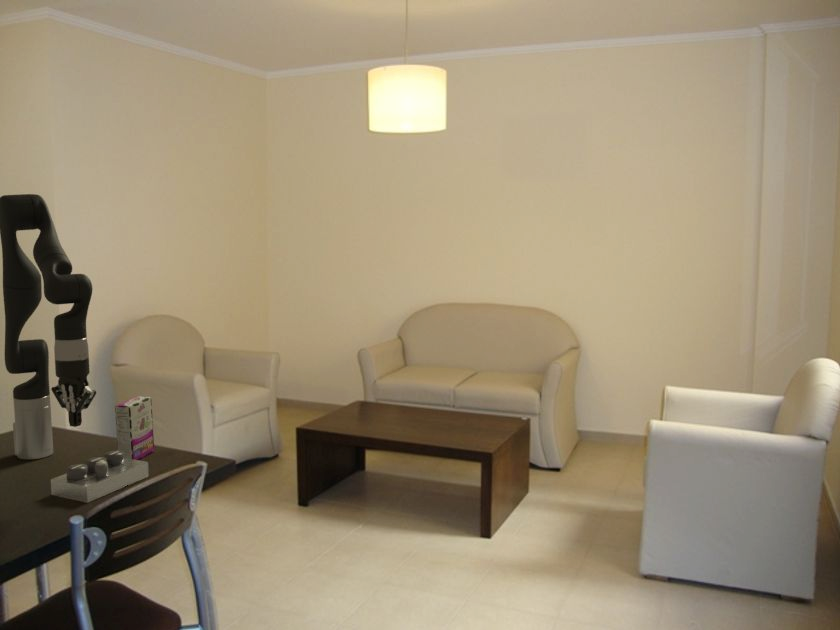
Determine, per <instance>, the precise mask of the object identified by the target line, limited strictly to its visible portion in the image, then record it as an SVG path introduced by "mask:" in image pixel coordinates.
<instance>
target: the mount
mask: <svg viewBox="0 0 840 630" xmlns="http://www.w3.org/2000/svg"><path fill="white" fill-rule="evenodd" d="M149 476H150V475H149V461H145V460H141V459H140V460H134V459H129V458H125V462H124V463H122V464H120V465H113V466H110V465H108V477H105V478H96V477H95V473H90V472H88V477H86V478H84V479H81V480H68V479H67V474H66V473H64V474H62V475H58V476H56V477H53V478H51V479H50V490H51V493H50V494H51V496H55V497H59V498H64V499H69V500H72V501H77V502H81V503H82V502H83V503H85V504H88V503H91V502H93V501H95V500H98V499H100V498H102V497H105V496H106V495H109V494H111V493H114V492H115V491H119V490H121V489H123V488H125V486H126V487H127V485H128V486H131V485H133V484H134V483H135V484H136V482H137V483H138V482H139V481H142V480H144V479H147V478H148V477H149Z"/></svg>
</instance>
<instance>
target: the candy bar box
mask: <svg viewBox="0 0 840 630" xmlns="http://www.w3.org/2000/svg"><path fill="white" fill-rule="evenodd" d="M114 410H115V411H114V412H115V425H116V440H117V441H116V442H117V443H116V444H117V450H120V451H124V458H129V459H134V460H140V461H141V459H143V458H145V457H147V456H148V455H151V454H152V453H153V452H154V451H155V440H154V439H155V437H154V422H153V405H152V396H143V395H142V396H141V395H136V396H135V397H132V398H130V399H128V400H125V401H123V402H121V403H119V404H116V405H115V406H114Z"/></svg>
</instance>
